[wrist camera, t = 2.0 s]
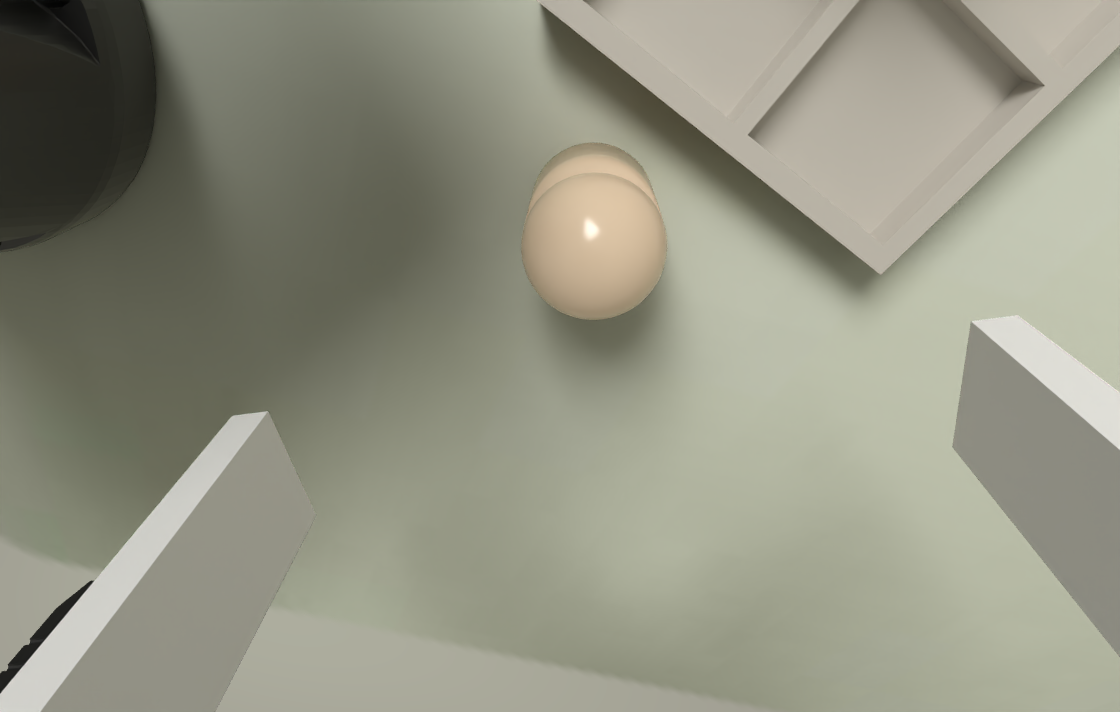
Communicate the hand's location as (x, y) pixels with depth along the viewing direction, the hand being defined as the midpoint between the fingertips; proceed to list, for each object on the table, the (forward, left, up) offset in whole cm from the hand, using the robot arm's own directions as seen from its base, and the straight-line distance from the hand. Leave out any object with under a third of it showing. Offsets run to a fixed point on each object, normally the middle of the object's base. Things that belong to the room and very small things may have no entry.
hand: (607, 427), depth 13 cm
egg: (0, 0, -14) cm, 14 cm away
